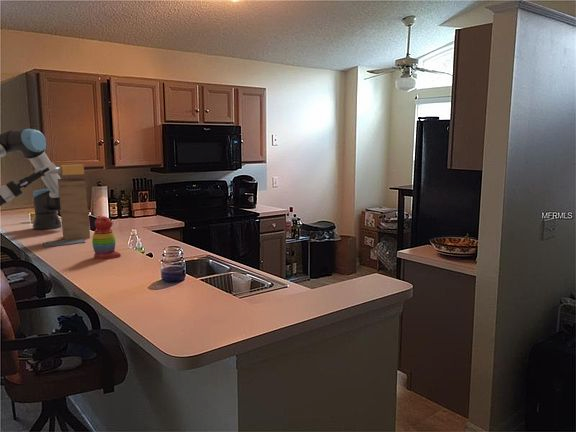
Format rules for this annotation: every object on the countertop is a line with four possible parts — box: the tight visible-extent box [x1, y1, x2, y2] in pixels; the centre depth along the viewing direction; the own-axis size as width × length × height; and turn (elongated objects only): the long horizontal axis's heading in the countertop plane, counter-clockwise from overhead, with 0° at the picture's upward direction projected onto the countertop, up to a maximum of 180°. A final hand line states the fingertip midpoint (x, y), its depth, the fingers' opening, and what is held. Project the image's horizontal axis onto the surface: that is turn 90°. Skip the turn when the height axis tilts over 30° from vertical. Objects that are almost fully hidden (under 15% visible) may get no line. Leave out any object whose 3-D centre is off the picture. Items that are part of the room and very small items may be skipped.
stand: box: [58, 177, 91, 240], centre depth 245 cm, size 8×12×31 cm, turn 121°
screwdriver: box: [34, 164, 85, 176], centre depth 240 cm, size 22×5×5 cm, turn 121°
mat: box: [42, 238, 86, 248], centre depth 236 cm, size 10×18×1 cm, turn 121°
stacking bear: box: [92, 215, 122, 260], centre depth 205 cm, size 11×10×18 cm
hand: (54, 164), depth 238 cm, fingers closed on screwdriver, 3 cm apart
